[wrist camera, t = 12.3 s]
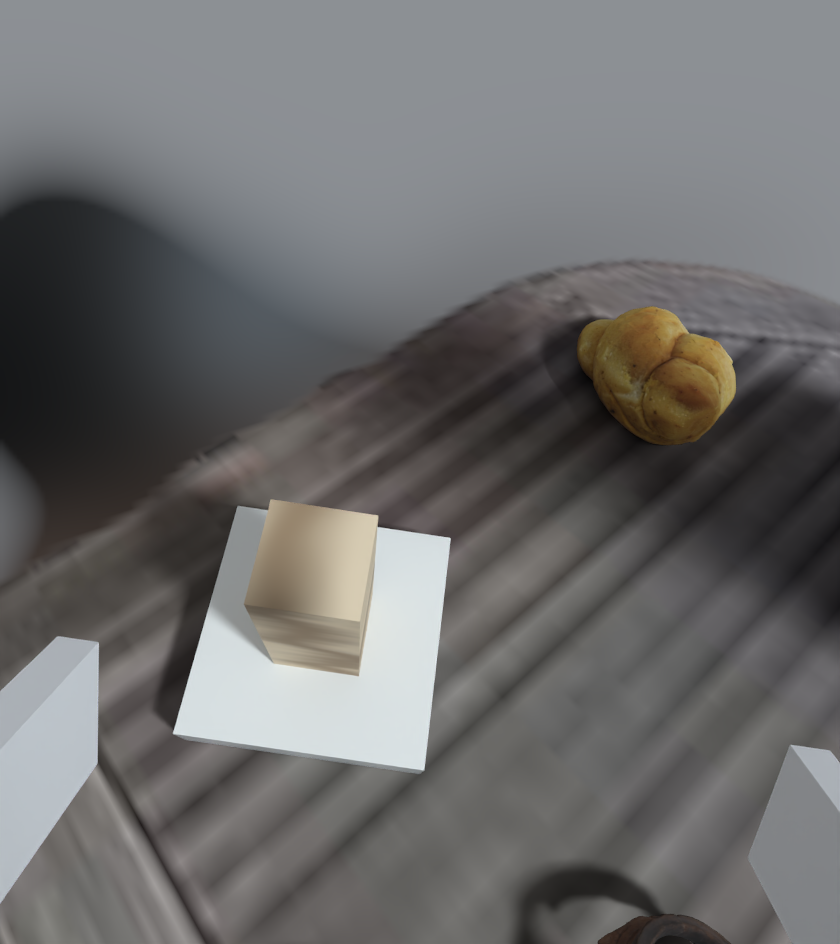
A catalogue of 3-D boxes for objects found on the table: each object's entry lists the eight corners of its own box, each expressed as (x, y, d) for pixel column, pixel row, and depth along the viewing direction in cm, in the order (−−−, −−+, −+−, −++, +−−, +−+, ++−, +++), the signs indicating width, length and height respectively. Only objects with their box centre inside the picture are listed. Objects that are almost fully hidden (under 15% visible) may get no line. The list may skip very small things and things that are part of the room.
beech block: (372, 594, 41) (378, 515, 31) (358, 676, 39) (359, 621, 29) (292, 582, 41) (270, 499, 31) (273, 663, 39) (243, 604, 28)
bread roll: (544, 362, 55) (572, 294, 48) (629, 315, 58) (667, 245, 51) (651, 480, 51) (700, 424, 44) (737, 423, 54) (795, 362, 47)
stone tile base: (445, 554, 46) (450, 538, 44) (419, 774, 40) (423, 770, 37) (244, 523, 46) (237, 505, 43) (185, 739, 39) (172, 733, 37)
